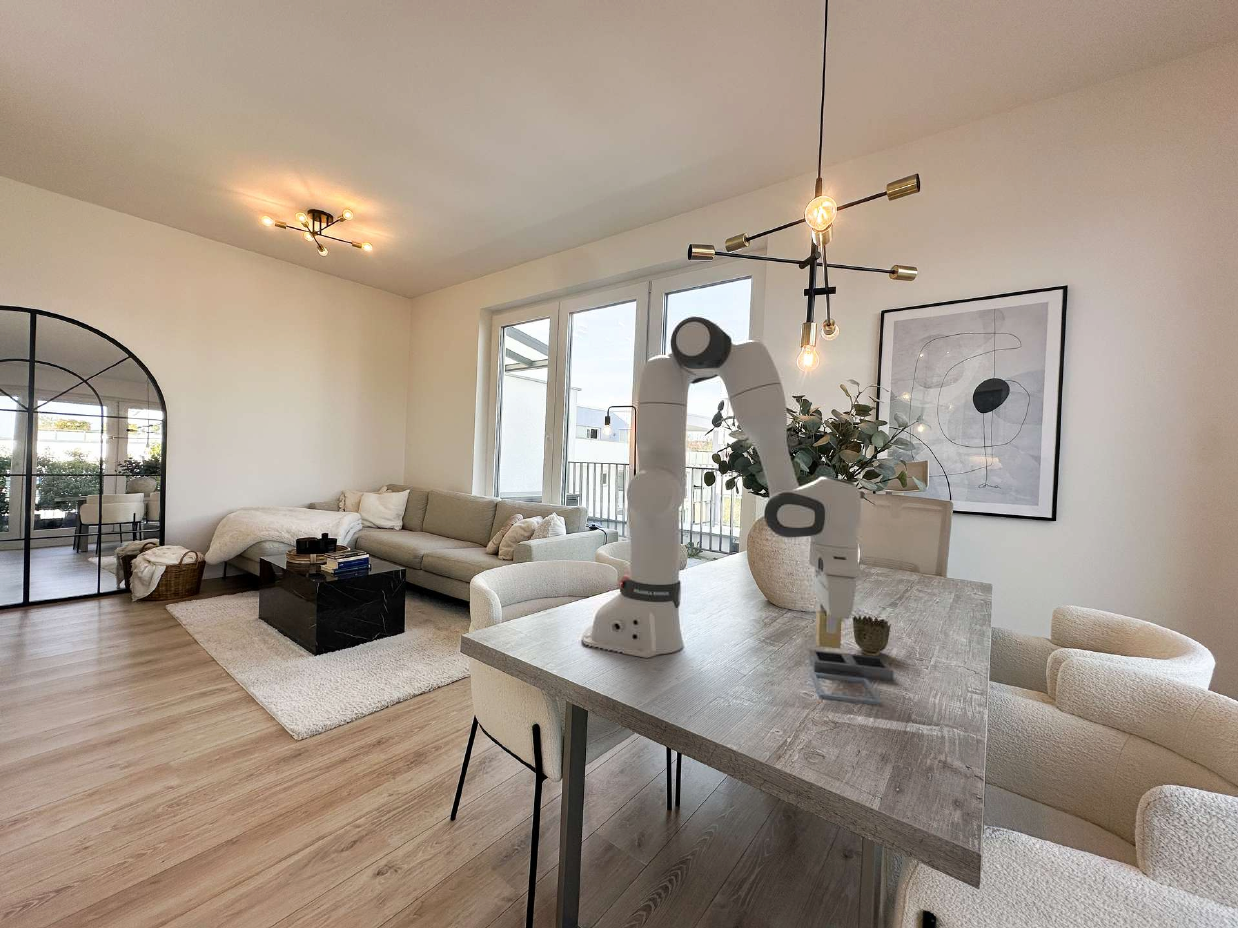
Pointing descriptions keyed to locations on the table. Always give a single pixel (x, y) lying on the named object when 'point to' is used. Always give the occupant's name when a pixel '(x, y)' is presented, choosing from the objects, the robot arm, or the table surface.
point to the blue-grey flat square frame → (874, 701)
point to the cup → (871, 634)
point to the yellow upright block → (822, 635)
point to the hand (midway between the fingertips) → (827, 627)
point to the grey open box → (850, 665)
